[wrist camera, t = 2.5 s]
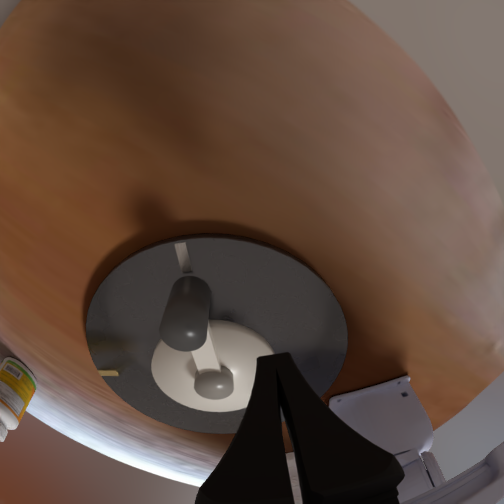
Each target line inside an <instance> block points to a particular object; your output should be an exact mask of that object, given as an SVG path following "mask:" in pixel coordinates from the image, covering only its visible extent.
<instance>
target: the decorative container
mask: <svg viewBox="0 0 504 504" xmlns="http://www.w3.org/2000/svg"><path fill="white" fill-rule="evenodd" d="M286 459H287V464H288V470H289V475H290V480H291V486H292V491H293V496H294V502H295V504H303V503H302V497H301V491H300V485H299V479H298V474H297V468H296V462H295V457H294V452H291V453H286Z"/></svg>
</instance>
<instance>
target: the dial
mask: <svg viewBox="0 0 504 504" xmlns="http://www.w3.org/2000/svg"><path fill="white" fill-rule="evenodd" d="M210 298H211V291H210V288H209V286H208V285H207V283H206V282H205V281H203V280H202V279H200V278H198V277H195V276H184V277H181V278H179V279H178V280H177V281H175V283H174V284H173V286H172V289H171V292H170V295H169V298H168V301H167V305H166V308H165V311H164V314H163V317H162V320H161V324H160V327H159V334H160V337H161V339H160V340H159V342H158V344H157V345H156V348H155V351H154V354H153V358H152V363H151V370H152V374H153V377H154V380H155V382H156V383H157V385H158V386H159V387H160V389H161V390H162V391H163V392H164V393H165V394H166V395H168V396H169V397H170V398H172V399H173V400H175V401H177V402H178V403H180V404H183V405H185V406H187V407H190V408H194V409H197V410H202V411H209V412H228V411H235V410H239V409H243V408H246V407H247V405H248V402H249V399H250V396H251V392H252V388H253V384H254V379H255V373H256V364H257V361H256V359H257V358H258V357H259V356H265V355H272V354H275V353H274V351H273V348H272V347H271V345H270V344H269V343H268V342H267V340H266V339H265V338H264V337H262V336H261V335H260V334H259V333H257V332H255V331H254V330H252V329H250V328H248V327H246V326H243V325H240V324H238V323H234V322H230V321H224V320H208V319H209V308H210Z"/></svg>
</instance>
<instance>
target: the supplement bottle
mask: <svg viewBox="0 0 504 504" xmlns="http://www.w3.org/2000/svg"><path fill="white" fill-rule="evenodd" d="M36 388H37V381H36V379H35V377H34V375H33V374H32V373H31V371H30V370H29V369H28V368H27V367H26V366H25V365H23V364H22V363H21V362H20V361H18V360H16V359H14V358H11V357H7V358H5V359H4V360H3V361H2V363H1V364H0V441H1V442H3V441H4V440H5V437H6V435H7V429H10V430H13V429H16V428H17V426H18V424H19V422H20V420H21V418H22V416H23V414H24V412H25V410H26V408H27V406H28V404H29V402H30V400H31V398H32V396H33V394H34V392H35V390H36Z"/></svg>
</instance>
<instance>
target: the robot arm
mask: <svg viewBox="0 0 504 504" xmlns="http://www.w3.org/2000/svg"><path fill="white" fill-rule="evenodd" d="M256 361H257V364H256V373H255V379H254V384H253V388H252V392H251V396H250V399H249V402H248V405H247V408H246V411H245V414H244V416H243V419H242V421H241V424H240V426H239V428H238V430H237V432H236V434H235V436H234V438H233V440H232V442H231V444H230V446H229V448H228V449H227V451H226V453H225V454H224V456H223V457H222V459H221V460H220V462H219V463H218V465H217V466H216V468H215V469H214V471H213V472H212V473H211V474H210V476H209V477H208V478H207V479H206V481H205V482H204V483H203V484H202V486H201V487H200V488H199V491H198V494H197V497H196V500H195V504H295V502H294V496H293V491H292V486H291V480H290V475H289V470H288V464H287V459H286V453H285V448H284V442H283V436H282V422H281V409H282V412H283V416H284V419H285V423H286V426H287V430H288V433H289V437H290V440H291V444H292V447H293V452H294V457H295V462H296V468H297V474H298V479H299V485H300V491H301V497H302V503H303V504H496V503H497V502H498V501H500V500H501V499H502V498H503V497H504V442H503V443H501V444H500V445H499V446H497V447H496V448H495V449H494V450H492V451H491V452H490V453H489V454H488V455H487V456H486V457H485V459H483V460H482V461H480V462H479V463H477V464H475V465H474V466H472V467H471V468H469V469H467V470H466V471H464V472H462V473H461V474H459V475H457V476H456V477H454V478H452V479H450V480H448V481H447V482H446V481H445V478H444V476H443V474H442V472H441V469H440V467H439V465H438V463H437V461H436V459H435V457H434V455H433V454H432V453H430V452H427V451H428V450H429V449H430V448H431V446H432V443H433V429H432V425H431V422H430V419H429V417H428V415H427V413H426V411H425V410H424V408H423V406H422V404H421V403H420V401H419V399H418V397H417V396H416V394H415V392H414V390H413V389H412V387H411V385H410V383H409V381H410V377H409V375H406V376H403V377H400V378H397V379H394V380H391V381H388V382H385V383H382V384H379V385H375V386H372V387H368V388H365V389H361V390H358V391H354V392H350V393H346V394H342V395H338V396H334V397H332V398H330V400H329V407H328V406H327V405H326V404H325V403H324V402H323V401H322V400H321V398H320V397H319V396H318V395H317V394H316V393H315V391H314V390H313V389H312V388H311V386H310V385H309V384H308V382H307V381H306V380H305V378H304V377H303V375H302V374H301V372H300V371H299V369H298V367H297V366H296V364H295V362H294V360H293V358H292V356H291V354H290V353H289V352H284V353H278V354H272V355H265V356H259V357H258V358H257V359H256ZM280 405H281V407H280ZM420 455H421V456H422V458H423V460H424V461H423V462H424V464H425V466H426V469H427V470H426V469H425V467H424V464H423V462H422V460H421V458H420ZM434 487H435V488H434Z"/></svg>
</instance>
